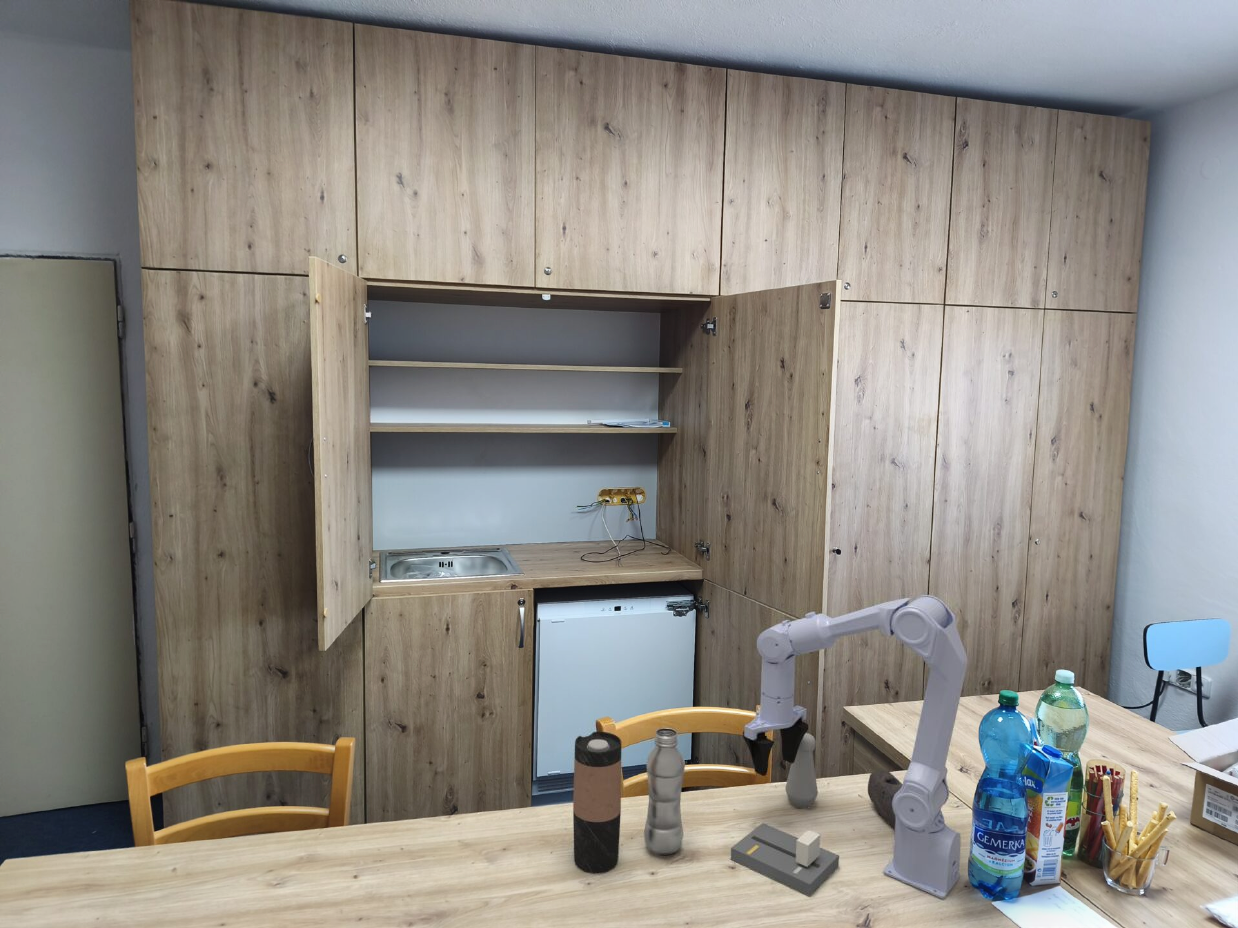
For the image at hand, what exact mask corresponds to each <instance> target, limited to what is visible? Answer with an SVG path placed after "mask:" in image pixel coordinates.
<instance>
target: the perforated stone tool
mask: <svg viewBox="0 0 1238 928" xmlns="http://www.w3.org/2000/svg"><path fill="white" fill-rule="evenodd" d="M902 785H903V782H901V781H900V780H899V779H898V778H897V777H896V776H895V775H893V773H891V772H890V771H888V770H883V769H881V770H880V769H878V770H874V771H873V772H871V773H870V775H869V779H868V782H867V795H868V797H869V800H871V803H872V804H873V806H874V807H875V809H876V811H877V812H878V814H879V815H880V816H881V817H882V818H883V819H884V820H885V821H886V822H887V823H888V824H889V825H890V826H891V827H892V828H893V829H895V821H896V816H895V814H894V811H893V807H892V801H893V797H894V795H895V794H896V793H897V792H898V791H899V790H900V789H901V787H902Z"/></svg>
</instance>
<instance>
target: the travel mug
mask: <svg viewBox="0 0 1238 928" xmlns="http://www.w3.org/2000/svg"><path fill="white" fill-rule="evenodd" d="M573 764H574V765H573V767H574V768H573V801H572V802H573V803H572V804H573V806H572V807H573V808H572V809H573V813H572V815H573V819H572V820H573V860H574V864H575V866H576V867H577V868H578V869H579V870H580V871H583V872H585V873H589V874H603V873H607V872H610V871H612V870H613V869H614V868H615V867H616V866H617V865H618V861H619V853H620V851H619V850H620V832H621V831H620V830H621V817H622V816H621V815H622V814H621V813H622V811H621V810H622V740H621V738H620V737H619V736H618V735H616V734H614V733H611V732H605V731H592V733H590V734H589V735H585V736H582V735H579V736H577V737H576V738H575V741H574V763H573Z"/></svg>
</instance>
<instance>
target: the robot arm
mask: <svg viewBox="0 0 1238 928" xmlns="http://www.w3.org/2000/svg"><path fill="white" fill-rule="evenodd" d="M910 600H912V597H906V598H899V599H895V600H891V601H886V602H882V603H879V604H876V605H873V606H869V607H866V608H862V609H859V610H856V611H852V612H850V613H845V614H843V615H839V616H836V617H833V618H832V617H830V616H828V614H827V615H826V614H824V613H818V614H816V611H811V612H808V613H806V614H805V617H802V618H799V619H795V620H793V621H791V620H790V619H786V620H783V621H781V623H776V624H775V625H773V626H772V627H769V628H767V629H765V630H764V631H762V632H761V633H760V634H759V636H758V637H757V639H756V648H757V651H758V653H759V655H760V657H761V675H760V676H761V679H760V706H759V707H760V709H758V710H756V717H755V718H754V719H753V720H751V722H749V723H747V724H746V725H744V730H743V731H742V738H743V740H744V741H745V744H746V746H747V748H748V750H749V753H750V756H751V760H752V764H753V768H754V772H755V773H756V774H758V775H760V776H762V777H764V776H767V774H768V769H769V759H770V754H771V751H772V748H773V746H774V744H775V741H774V740H772V739H770V738H768V735H766V733H768V732H772V731H775V730H780V731H779V732H780V738H781V755H782V760H784V761H786V762H788V763H790V764H791V763H794V761H795V758H796V755H797V752H798V748H799V745H800V743H801V741H802V739H803V737H804V735H805V733H807V732H808V731H809V724H808V723H806V722H805V721H804V720H807V713H808V712H807V711H808V710H807V708H805V707H802V706H801V705H795V706H794V702H795V673H796V671H795V668H796V667H795V665H796V656H800V655H804V654H809V653H813V652H817V651H821V650H826V649H828V648H829V649H830V648H833V647H834V645H835V643H836V642H837V639H838V638H842V637H847V636H851V635H856V634H861V633H865V632H870V631H874V630H875V631H876V630H879V631H880V632H881V633H883V634H884V635H886V636H887V637H890V638H891V637H892V636H895V637H896V639H897V640H898V641H899V642H900V643H902V644H903V646H905V647H907V649H909V650H910V651H911V652H914V653H915V654H916V655H917V656H919V657H920V658H921V659H922V660H923V661H924V662H925V664H926V665H927V667H928V668H929V674H928V679H927V684H926V688H925V692H924V693H925V694H924V697H923V703H922V707H921V711H920V712H921V713H920V717H919V722H918V726H917V732H916V736H915V740H914V745H913V750H912V755H911V760H910V763H909V766H908V768H907V769H906V773H905V775H904V777H903V781H902V784H903V785H902V787H901V789H900V790H899V791H898V792H897V793H896V794H895V795H894V797H893V801H892V807H893V811H894V814H895V816H896V821H895V828H894V841H893V858H892V859H891V861H890V862H889V863H888V864H887V865H886V866H885V867H884V868H883V874H885V875H887V876H888V877H891V878H894V879H895V880H898V881H900V882H902V883H904V884H905V883H906V884H908V885H910V886H913V887H915V888H917V889H919V890H921V891H924V892H926V893H929V894H931V895H933V896H936V897H937V898H940V899H945V898H946V897H947V895H948V894H949V892H950V891H951V890H952V888H953V887H954V885H955V884H956V883H957V881H958V880H959V878H960V877H961V873H960V863H961V862H960V860H961V847H962V846H961V845H962V840H961V838H962V837H961V835H960V833H959V832H958V831H956V830H954V829H953V828H951V827H950V826H948V825H947V824H946V822H945V817H944V815H943V811H942V807H943V806H944V805H946V803H947V801H948V800H949V797H950V788H949V785H948V783H947V775H948V769H947V767H946V765H947V759H948V755H949V751H950V745H951V742H952V736H953V732H954V728H955V723H956V718H957V713H958V709H959V704H960V700H961V695H962V691H963V688H964V687H963V685H964V681H965V677H966V673H967V669H968V656H967V653H966V650H965V648H964V645H963V641H962V639H961V637H960V634H959V631H958V628H957V620H956V616H955V613H953V612H952V611H951V609H950V608H949V607H948V606H947V605H946V604H945V602H944V601H942V600H941V599H940V598H938V597H936V596H934V595H931V594H930V595H929V594H923V595H920V596H917V597H915V598H914V599H913V600H912V601H911V602H910ZM909 602H910V603H909Z"/></svg>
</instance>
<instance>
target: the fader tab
mask: <svg viewBox="0 0 1238 928" xmlns="http://www.w3.org/2000/svg"><path fill="white" fill-rule="evenodd" d="M798 838H799V839H798V840H797V843H796V862H798V863H800V864H802V865H804V866H806V867H808V866H809V865H810V864H811V863H812V862H813V861H814V860H815V859H816V858H817V857H818V856H819V848H821V846H820V845H821V844H820V842H821V840H820V839H821V834H819V833H817V832H814V831H812V830H810V829H808V830H807V831H806V832H805V833H804V834H802V835H801V836H800V837H798Z"/></svg>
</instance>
